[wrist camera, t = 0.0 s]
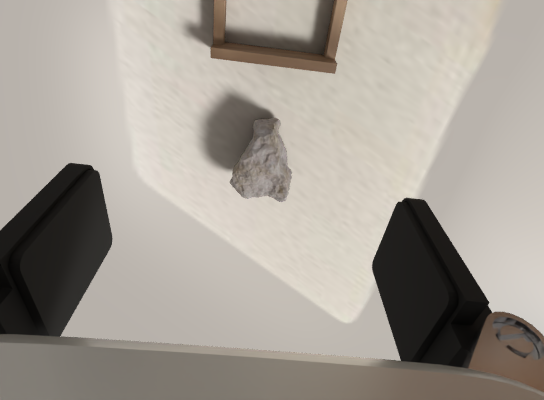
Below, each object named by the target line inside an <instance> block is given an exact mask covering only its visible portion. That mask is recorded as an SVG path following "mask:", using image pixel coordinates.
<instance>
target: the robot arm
mask: <svg viewBox="0 0 544 400" xmlns="http://www.w3.org/2000/svg"><path fill="white" fill-rule="evenodd" d="M111 245H112V233H111V228H110V223H109V218H108V214H107V209H106V204H105V199H104V194H103V189H102V184H101V179H100V175H99V172H98V171H96V170H94V169H93V167H92V166H91V165H84V164H75V163H69V164H68V165H66V166H65V168H63V169H62V170H61V171H60V172H59V173H58V174H57V175H56V176H55V177H54V178H53V179H52V180H51V181H50V182H49V183H48V184H47V185H46V186H45V187H44V188H43V189H42V190H41V191H40V192H39V193H38V194H37V195H36V196H35V197H34V198H33V199H32V200H31V201H30V202H29V203H28V204H27V205H26V206H25V207H24V208H23V209H22V210H21V211H20V212H19V213H18V214H17V215H16V216H15V217H14V218H13V219H12V220H11V221H9V222H8V223H7V224H6V225H5V226H4V227H3V228H2V230H0V400H544V336H543V335H542V334H541V333H540V332H539V331H538V330H537V329H536V328H535V327H534V326H533V325H531V324H530V323H528V322H527V321H525V320H524V319H522V318H520V317H518V316H515V315H513V314H510V313H506V312H494V313H492V311H491V310H490V308H489V307H488V304H489V301H488V300H487V298H486V297H485V295H484V293H483V292H482V290H481V289H480V287H479V285H478V284H477V282H476V281H475V279H474V278H473V276H472V274H471V273H470V271H469V269H468V268H467V266H466V265H465V263H464V262H463V260H462V258H461V257H460V255H459V254H458V252H457V250H456V249H455V247H454V246H453V244H452V242H451V241H450V239H449V238H448V236H447V235H446V233H445V232H444V230H443V228H442V227H441V225H440V223H439V222H438V220H437V219H436V217H435V215H434V214H433V212H432V211H431V209H430V208H429V206H428V204H427V203H426V201H424V200H421V199H412V198H405V199H404V200H403V201H402V202H398V203H397V204H396V206H395V209H394V211H393V214H392V216H391V218H390V221H389V223H388V226H387V228H386V231H385V233H384V235H383V238H382V240H381V243H380V245H379V248H378V250H377V252H376V255H375V257H374V260H373V264H372V270H373V274H374V277H375V280H376V283H377V286H378V289H379V293H380V296H381V299H382V302H383V305H384V308H385V311H386V314H387V317H388V321H389V324H390V327H391V330H392V333H393V337H394V339H395V343H396V346H397V349H398V352H399V356H400V359H401V361H396V360H385V359H373V358H360V357H346V356H334V355H321V354H307V353H295V352H280V351H267V350H253V349H240V348H225V347H212V346H211V347H210V346H198V345H183V344H169V343H154V342H139V341H124V340H109V339H108V340H107V339H93V338H78V337H60V336H61V334H62V332H63V330H64V329H65V327H66V325H67V323H68V321H69V320H70V318H71V316H72V314H73V313H74V311H75V309H76V307H77V305H78V304H79V302H80V300H81V299H82V297H83V295H84V293H85V292H86V290H87V288H88V286H89V285H90V283H91V281H92V279H93V278H94V276H95V274H96V272H97V270H98V269H99V267H100V265H101V264H102V262H103V260H104V258H105V257H106V255H107V253H108V251H109V249H110V247H111Z"/></svg>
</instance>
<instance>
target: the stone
mask: <svg viewBox="0 0 544 400" xmlns="http://www.w3.org/2000/svg"><path fill="white" fill-rule="evenodd" d="M279 127H280V120H279V119H277V118H270V119H259V120H256V121H255V122H254V125H253V131H254V134H253V138H252V140H251V141H250V144H249V145H248V146H247V148H246V150H245V151H244V153H243V154H242V156H241V157H240V159H239V161H238V163H237V164H236V165H235V167H234V169H233V173H232V175H233V177H232V179H231V180H230V184H231V185H232V186H233V187H234V188H235V189H236V190H237V192H238V193H239V194H241V196H242V197H244V198H247V199H249V198H251V197H261V196H269V197H272V198H274V199H276V200H277V201H279V202H283V201H285V200H286V198H287V195H288V193H289V192H288V191H289V186H290V182H291V178H292V176H291V174H292V172H291V169H289V168H288V164H287V151H286V148H285V147H284V143H283V141H282V138H281V137H280V135H279V132H278V130H279Z"/></svg>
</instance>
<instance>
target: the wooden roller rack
mask: <svg viewBox="0 0 544 400" xmlns="http://www.w3.org/2000/svg"><path fill="white" fill-rule="evenodd" d="M346 5H347V0H334V4H333V9H332V14H331V19H330V24H329V29H328V35H327V40H326V45H325V50H324V55H322V54H314V53H306V52H298V51H291V50H283V49H275V48H268V47H260V46H252V45H245V44H237V43H229V42H225V23H226V0H214V29H213V45H212V46H211V58H216V59H223V60H231V61H239V62H247V63H255V64H263V65H271V66H279V67H287V68H295V69H302V70H310V71H318V72H326V73H334V74H335V71H336V66H337V63H336V61H335V56H336V51H337V47H338V42H339V37H340V33H341V28H342V23H343V19H344V14H345V10H346Z"/></svg>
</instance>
